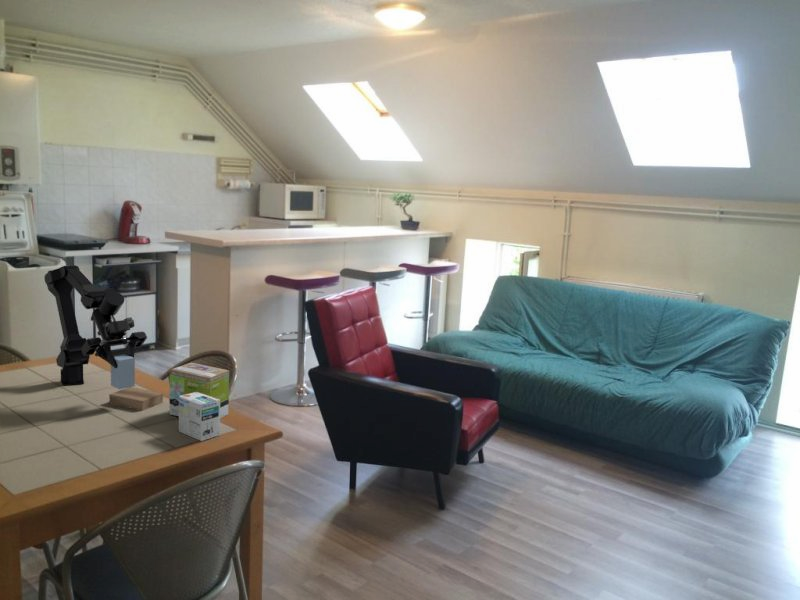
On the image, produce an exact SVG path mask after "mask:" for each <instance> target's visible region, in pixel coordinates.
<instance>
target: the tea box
mask: <svg viewBox="0 0 800 600" xmlns="http://www.w3.org/2000/svg"><path fill="white" fill-rule="evenodd" d="M194 392H199V393H202V394H205V395H207V396H210V397H213V398H217V399H220V419H222V418H224V417H227V416H228V415H229V403H230V402H229V399H230V397H229V396H230V369H229V370H228V369H223V368H220V367H215V366H209V365H206V364H205V365H204V364H200V363H195V362H191V361H190V362H189V363H185V364H183V365H181V366H180V365H179V366H177V367H174V368H171V369H169V402H168V403H169V415H171V416H175V417H179V396H181V395H186V394H190V393H194Z"/></svg>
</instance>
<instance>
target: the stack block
mask: <svg viewBox="0 0 800 600" xmlns="http://www.w3.org/2000/svg"><path fill="white" fill-rule="evenodd" d="M108 395H109V399H108V400H109V405H113V404H115V405H114V406H118V405H119V406H118V407H123V406H125V407H124V408H127V407H131V408H130V409H132V408H134V409H133V410H137V409H139V410H138V411H141V410H142V412H144V411H146V410H148V409H151V408H153V407H155V405H156V406H158V405H160V404H163V403H164V393H163V392H157V391H153V390H147V389H143V388H138V387H135V386H133V387H128V388H123V389H119V390H116V391H115V392H112V393H109V394H108ZM143 410H144V411H143Z"/></svg>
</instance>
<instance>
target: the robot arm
mask: <svg viewBox="0 0 800 600" xmlns="http://www.w3.org/2000/svg"><path fill="white" fill-rule="evenodd" d="M44 282H45V284H46V287H47V290H48V291H49V292H50V293H51V294H52V295H53V297H54V298H55V302H56V303H55V304H56V307H57V312H58V316H59V321H60V326H61V331H62V336H63V339H62V342H61V344H60V347H59V348H60V352H59V353H58V355H57V357H56V359H55V361H56V366H58V367H60V383H61V384H62V386H72V385H73V386H74V385H84V384H85V380H84V365H89V362H90V361H89V360H90V357H91V356H92V355H94V357H99V358H101V359H102V360H104V361H105V362H107V364H110V366H111V365H112V366H113V367H114V368H117V367H118V366H117V363H116V360H115V358H114V357H115V356H114V354H113V351H112V349H111V347H115V346H123V347H124V350H123V353H124V355H128V356H131V357H133V358H135V349H137V348H141V347H142V346H143V345H144V343H145V342H146V340H147V339H148V336H147V334H146V332H144V331H137V332H136V331H135V332H131V334H130V335H129V337H126V336H127V332H128V331H130V330H131V329H132V328H134V327H135V322H134V319H133V318H132V317H126V318H124V319H123V320H116V318H115V316H116V315H117V314H118V312H119V311H120V309H121V307H122V306H123V305H124V303H125V297H124V296H123V295H122V294H121V293H120V292H119V291H116V290H115V289H114V288H106V290H105V289H104V288H102V287H101V286H97V285H96V284H93V283H92V282H91V281H90V280H89V278H88V277H87V276H85V274H83V272H82V271H81V270H80V267H79V266H78V265H76V264H75V265H74V264H73V265H63V266H61V267H58V268H55V269H53V270H52V269H51V270H48V271H47V273H45V274H44ZM73 289H74V290H75V291H76V292H77V294H79V295H80V302H81V304H82V306H83V308H85V309H86V310H93V311H92V313H91V316H90V321H91V322H93V321H94V323H95V325H96V327H97V330H98V331H97V335H98V337H93V338H92V337H91V338H85V337H82V335H80V332H79V327H78V321H77V317H76V312H75V309H74V303H73V299H72V294H71V293H72V292H73ZM99 336H100V337H99ZM124 336H125V337H124Z"/></svg>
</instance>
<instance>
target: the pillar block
mask: <svg viewBox="0 0 800 600" xmlns="http://www.w3.org/2000/svg"><path fill="white" fill-rule="evenodd" d="M114 358H115V360H116V363H117V366H118V367H117V368H114V367H113V366H112V365H110V386H111V387H114V388H116V389H118V390H123V389H126V388H128V387H135V386H136V385H135V384H136V383H135V379H136V378H135V377H136V367H135V363H136V362H135V359H136V358H135V357H134V358H133V357H131V356H128V355H125V354H123V355H117V356H116V355H115V356H114Z"/></svg>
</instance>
